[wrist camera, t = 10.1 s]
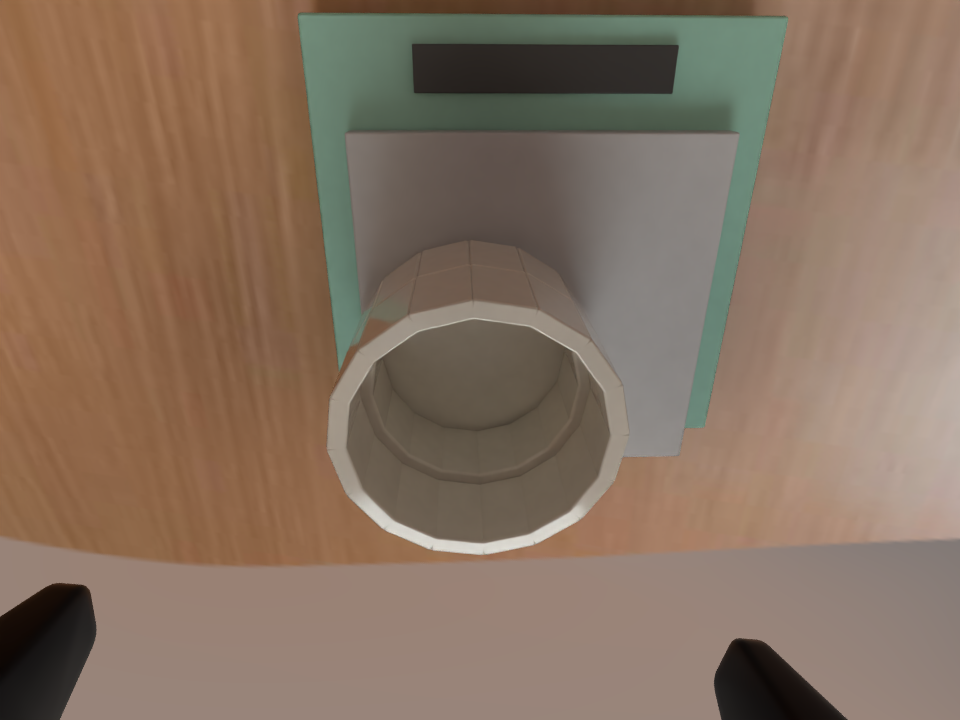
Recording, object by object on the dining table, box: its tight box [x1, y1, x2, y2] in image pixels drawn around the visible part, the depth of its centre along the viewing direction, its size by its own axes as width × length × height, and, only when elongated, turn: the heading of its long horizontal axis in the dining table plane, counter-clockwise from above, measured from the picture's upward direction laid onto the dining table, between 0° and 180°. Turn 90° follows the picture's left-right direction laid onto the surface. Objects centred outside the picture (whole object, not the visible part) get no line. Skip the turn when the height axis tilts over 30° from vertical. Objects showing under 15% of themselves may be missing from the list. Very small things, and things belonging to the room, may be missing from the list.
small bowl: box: [326, 240, 630, 555], centre depth 14 cm, size 6×6×5 cm
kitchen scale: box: [298, 13, 788, 457], centre depth 16 cm, size 12×11×2 cm
